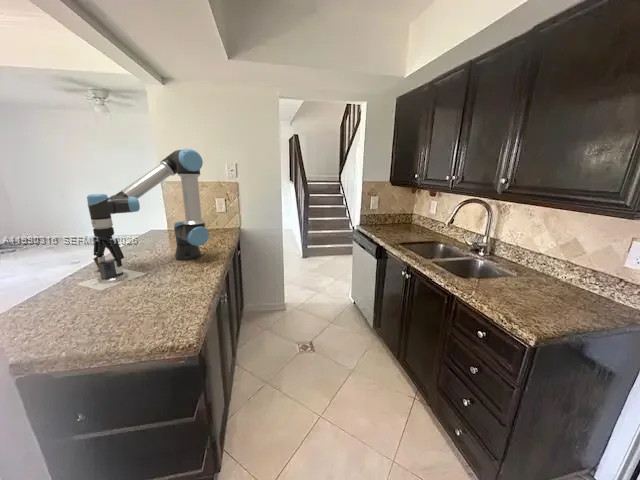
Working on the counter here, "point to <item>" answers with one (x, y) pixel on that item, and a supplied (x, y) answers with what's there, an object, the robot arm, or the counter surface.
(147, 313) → the counter surface
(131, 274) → the dial panel
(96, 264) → the rock
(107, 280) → the dial
